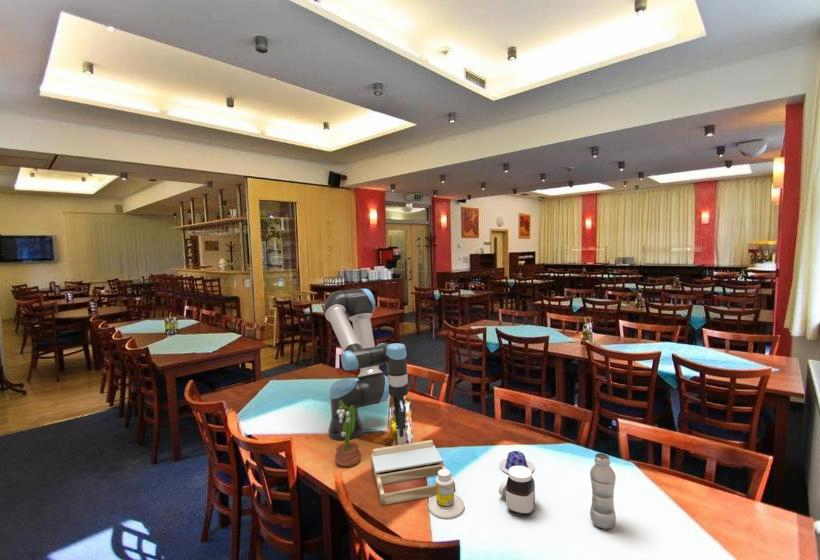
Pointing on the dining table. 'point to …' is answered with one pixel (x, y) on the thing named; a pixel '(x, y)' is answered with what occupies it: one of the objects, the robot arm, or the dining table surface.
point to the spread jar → (519, 490)
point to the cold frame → (403, 476)
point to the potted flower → (347, 439)
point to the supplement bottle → (445, 489)
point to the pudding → (515, 461)
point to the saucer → (446, 513)
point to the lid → (405, 456)
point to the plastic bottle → (602, 492)
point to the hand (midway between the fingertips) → (401, 443)
